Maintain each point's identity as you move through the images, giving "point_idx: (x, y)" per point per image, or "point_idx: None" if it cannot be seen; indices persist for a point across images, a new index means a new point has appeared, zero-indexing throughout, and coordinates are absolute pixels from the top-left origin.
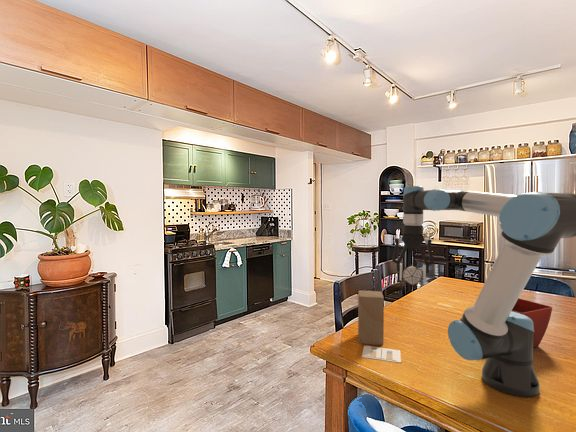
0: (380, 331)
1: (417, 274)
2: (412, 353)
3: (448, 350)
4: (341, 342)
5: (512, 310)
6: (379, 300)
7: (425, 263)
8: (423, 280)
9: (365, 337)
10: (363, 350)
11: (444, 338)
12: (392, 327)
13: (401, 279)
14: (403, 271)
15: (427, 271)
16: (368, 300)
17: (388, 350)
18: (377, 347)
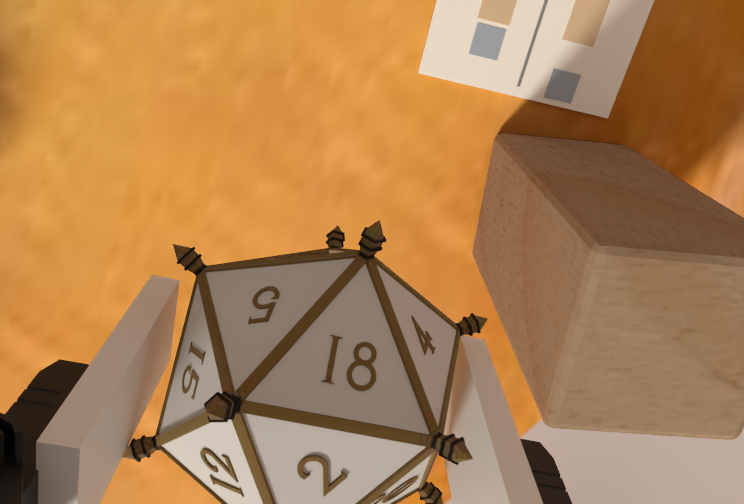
0: (534, 154)
1: (257, 301)
2: (356, 47)
3: (141, 107)
4: (721, 152)
5: None
6: (626, 235)
7: (16, 489)
8: (172, 307)
9: (607, 151)
10: (632, 50)
11: (127, 258)
12: None
13: (466, 342)
14: (428, 474)
15: (55, 384)
16: (720, 240)
17: (486, 65)
18: (538, 100)
